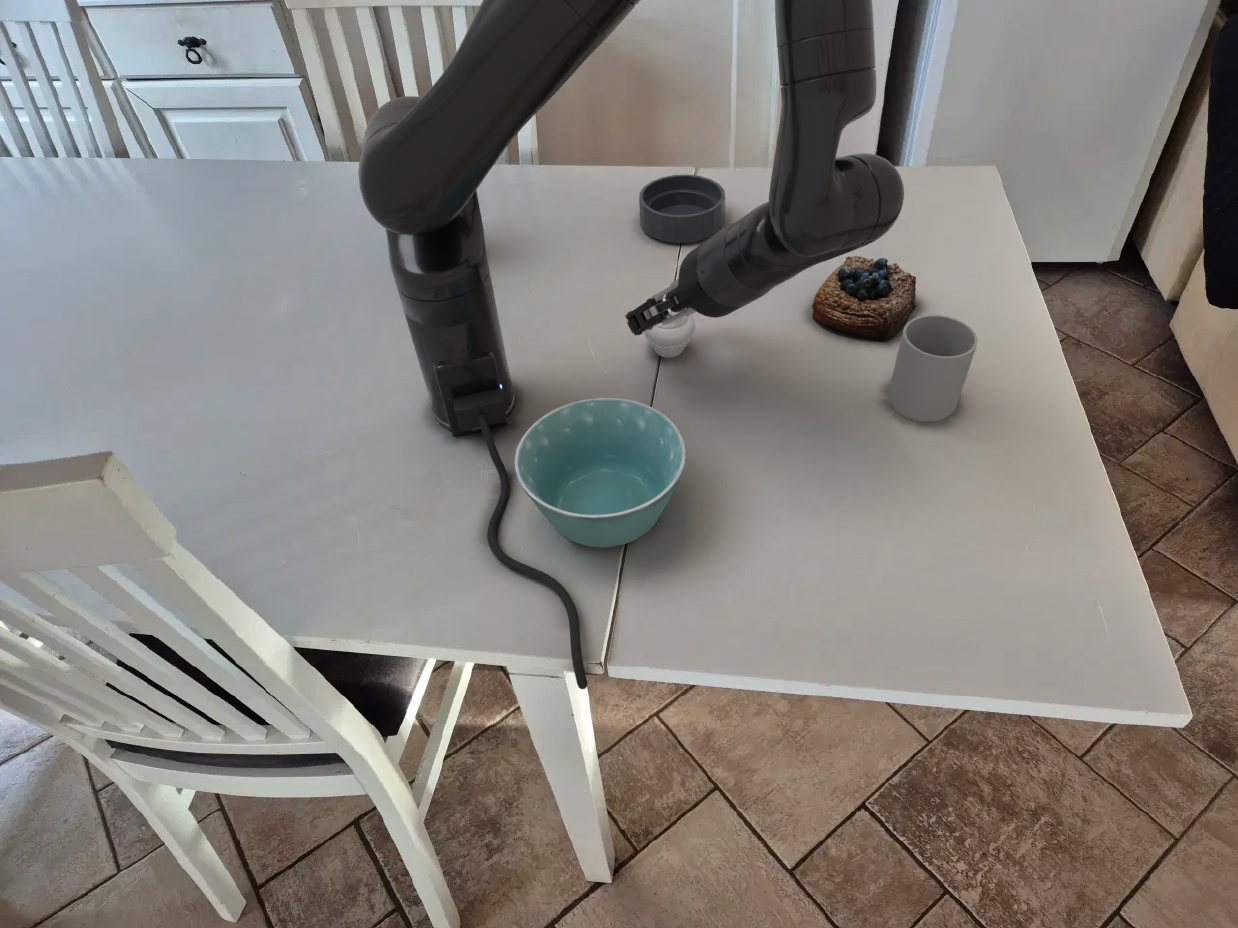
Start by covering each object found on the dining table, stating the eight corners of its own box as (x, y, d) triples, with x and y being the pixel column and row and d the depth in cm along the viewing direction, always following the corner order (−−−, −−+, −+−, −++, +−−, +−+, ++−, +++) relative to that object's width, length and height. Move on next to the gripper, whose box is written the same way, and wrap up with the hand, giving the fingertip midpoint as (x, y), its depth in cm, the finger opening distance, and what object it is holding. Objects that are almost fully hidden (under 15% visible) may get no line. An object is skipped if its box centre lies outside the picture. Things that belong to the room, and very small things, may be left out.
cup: (879, 412, 88) (895, 347, 82) (903, 359, 94) (919, 294, 87) (947, 431, 85) (969, 365, 79) (967, 375, 91) (989, 310, 85)
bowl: (508, 480, 84) (495, 422, 78) (649, 437, 87) (646, 378, 81) (553, 597, 74) (542, 540, 68) (711, 543, 77) (714, 484, 71)
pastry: (923, 299, 102) (934, 258, 97) (888, 351, 95) (898, 310, 91) (840, 275, 106) (847, 235, 102) (801, 323, 100) (806, 283, 95)
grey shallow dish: (736, 236, 114) (737, 207, 111) (655, 253, 112) (654, 223, 109) (706, 197, 122) (707, 168, 119) (630, 212, 120) (629, 183, 117)
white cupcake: (640, 364, 96) (637, 315, 91) (646, 332, 100) (645, 284, 95) (692, 367, 95) (693, 318, 90) (697, 335, 99) (698, 287, 94)
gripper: (768, 209, 82) (694, 261, 97) (657, 260, 77) (597, 307, 92) (800, 277, 83) (722, 318, 98) (692, 332, 78) (627, 366, 93)
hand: (661, 312), depth 95 cm, fingers open, 8 cm apart
